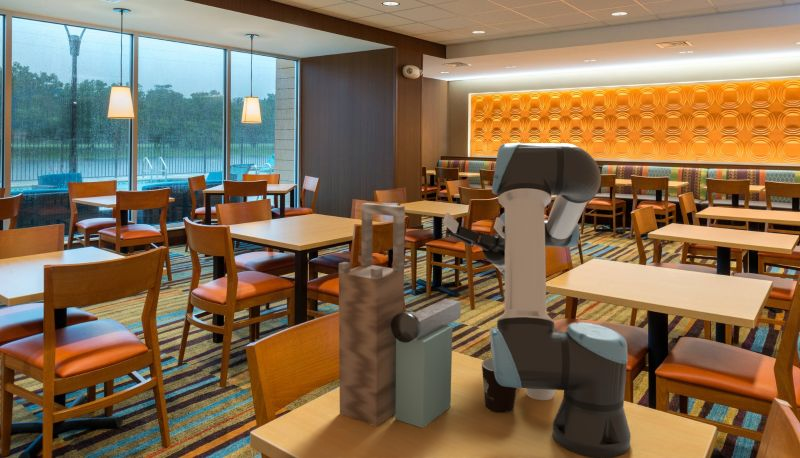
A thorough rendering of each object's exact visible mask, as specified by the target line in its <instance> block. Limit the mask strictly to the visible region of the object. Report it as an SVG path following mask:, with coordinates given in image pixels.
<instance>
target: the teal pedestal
mask: <svg viewBox="0 0 800 458" xmlns="http://www.w3.org/2000/svg"><path fill="white" fill-rule="evenodd" d="M452 355H453V326H452V325H446V326H444V327H442V328H441V329H439V330H437V331H435V332H433V333H431V334H429V335H427V336H426V337H424V338H422V339H420V340H418V341H414V340H412V341H410V342H407V343H404V342H400V341H399V340H397V339H396V413H395V414H394V416H395V420H398V421H400V422H404V423H407V424H409V425H413V426H416V427H419V428H422V429H424V428H425V427H427V425H429V424H430V423H432V422H433V421H434V420H435V419H436V418H437V417H439V416H441V415H442V414H443V413H444V412H445V411H447V410H449V408H451V405H452V404H451V403H452V402H451V400H452V397H451V396H452V395H451V394H452V360H453V359H452V358H453V356H452Z"/></svg>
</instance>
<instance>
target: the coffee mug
mask: <svg viewBox="0 0 800 458" xmlns="http://www.w3.org/2000/svg"><path fill="white" fill-rule="evenodd" d="M481 371H482V383H483V394H484V395H483V396H484V406H485V408H486V410H487V409H488V410H489V411H491V412H494V413H498V414H499V413H500V414H501V413H502V414H505V413H510V412H511V411H513V410H514V407H515V401H516V397H517V389H518V388H514V387H505V386H501V385H500V384H499V383H498V382H497V381H496V378H495V375H494V369H493V362H492V357H489V358H486V359H484V360H483V361H482V362H481Z"/></svg>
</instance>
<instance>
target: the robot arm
mask: <svg viewBox="0 0 800 458" xmlns="http://www.w3.org/2000/svg"><path fill="white" fill-rule="evenodd" d="M492 180H493V181H492V186H491V187H492V189H491V192H492V194H494V195H495V196H498V200H497V201H498V203H499V204H500V205H501V207H503V208H504V212H503V213H502V214H501V215H500V217H499V216H498V217H496V218H495V222H494V224H493V225H494V226H493V229H494V230H495V231H496V232H497V234H493V235H491V234H485V233H483V232H480V231H477V232H476V231H474V230H472V229H471V230H470V229H469V228H466V227H464V226H461V225H459V224H460V223H459V222H458V221H457V220H456V219H455V218H454V217H453V216H452V215H451V214H450V213H449V212H445V214H444V217H443V222H442V223H443V224H444V225H445V227H446V230H445V234H446V235H448V236H450V237H452V238H454V239H456V240H458V241H460V242H462V243H463V244H465V245H467V246H468V247H469V248H474V246H476V247H479V248H481V249H482V253H483V255H484V257H485V258H486V259H487V260H488V261H489V262H490V263H491V264H492V265H493V266H494V267H495V268H496V269H497V270H498V271H499V272H500V273H501V274H502V275H503V277H504V312H503V314H501V316H500V317H499V318H498V319H497V320H496V323H497V324H496V327H493V328H491V329H490V330H489V331H490V332H489V339H490V353H491V358H492V362H493V369H494V375H495V378H496V381H497V382H498V383H499V384H500V385H501V386H505V387H514V388H517V389H518V390H521V389H526V388H529V389H548V390H555V391H563V398H562V400H561V403H560V405H559V407H558V409H557V411H556V414H555V417H554V419H553V421H552V436H553V438H554V440H555V441H556V442H557V443H558V444H559V445H560V446H562V447H564V448H565V449H567V450H568V451H571V452H573V453H576V454H579V455H583V456H587V457H592V458H614V457H618V456H622V455H623V454H625V453H626V452H628V451H629V450H630V447H631V437H632V435H631V431H630V427H629V424H628V420H627V415H626V413H625V412H626V411H625V409H624V405H625V404H624V402H625V392H626V391H625V390H626V389H625V388H626V376H627V366H628V362H629V359H628V344H627V343H628V342H627V341H626V339H625V337H623V336H622V334H620V333H619V332H617V331H616V330H614V329H611V328H608V327H606V326H603V325H599V324H595V323H591V322H583V321H582V322H581V321H580V322H579V321H577V322H571V323H569V324H568V325H567V327H566V329H565V330H566V331H560V330H559V331H557V330H555V321H554V320H553V319H552V318H551V317H550V315H549V314H548V313H547V279H546V277H547V276H546V274H547V273H546V272H547V271H546V248H547V247H548V248H565V249H566V248H575V247H576V246H578V245H579V239H580V226H579V225H580V224H579V223H578V222H579V220H580V218H581V216H582V214H583V212H584V210H585V208H586V205H587V203H588V202H591V201H592V200H593V199H594V198H595V197H596V195H597V193H598V191H599V190H600V188H601V187H600V186H601V182H602V176H601V170H600V168H599V165H598V163H597V161H596V160H595V159H594V158H593V156H592V155H591V154H590V153H589V152H587V151H586V150H585V149H583V148H582V147H580V146H577V145H575V144H572V143H563V142H561V143H545V142H544V143H540V142H539V143H535V142H533V143H532V142H531V143H528V142H527V143H525V142H522V143H521V142H520V141H519V142H515V143H514V142H512V143H510V142H509V143H503V144H501V145H500V146H499V148H498V150H497V155H496V161H495V168H494V174H493V179H492ZM552 196H555V198H554V200H553V204H552V206H551V209H550V212H549V215H548V217H547V218H548V219H545V208H546V207H547V206H548V205H549V204H550V203H551V202H552Z"/></svg>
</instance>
